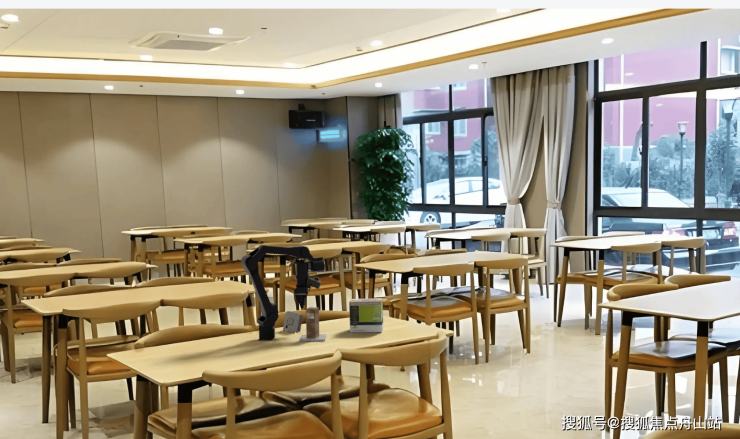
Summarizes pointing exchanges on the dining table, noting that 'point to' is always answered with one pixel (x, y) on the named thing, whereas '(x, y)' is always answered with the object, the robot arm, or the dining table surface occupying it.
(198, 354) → the dining table surface
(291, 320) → the electrical switch
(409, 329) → the dining table surface
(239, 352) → the dining table surface
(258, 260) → the robot arm
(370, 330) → the tea box
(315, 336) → the walnut block
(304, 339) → the slate coaster
